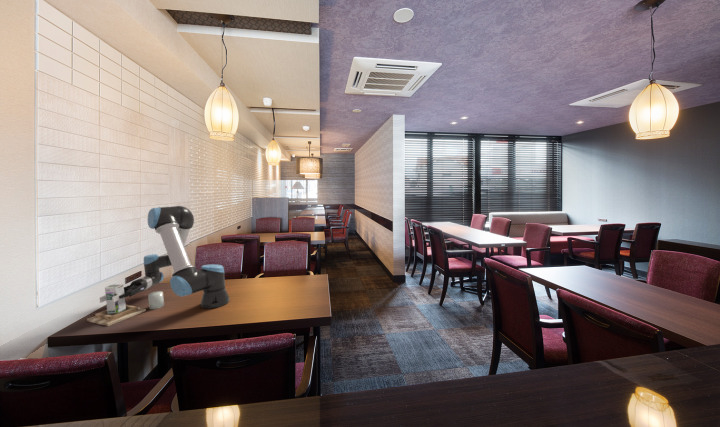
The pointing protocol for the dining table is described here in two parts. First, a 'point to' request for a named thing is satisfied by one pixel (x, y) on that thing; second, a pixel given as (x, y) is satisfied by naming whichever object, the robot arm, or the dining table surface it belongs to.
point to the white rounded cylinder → (156, 300)
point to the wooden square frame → (115, 315)
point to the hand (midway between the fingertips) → (106, 300)
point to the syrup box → (111, 292)
